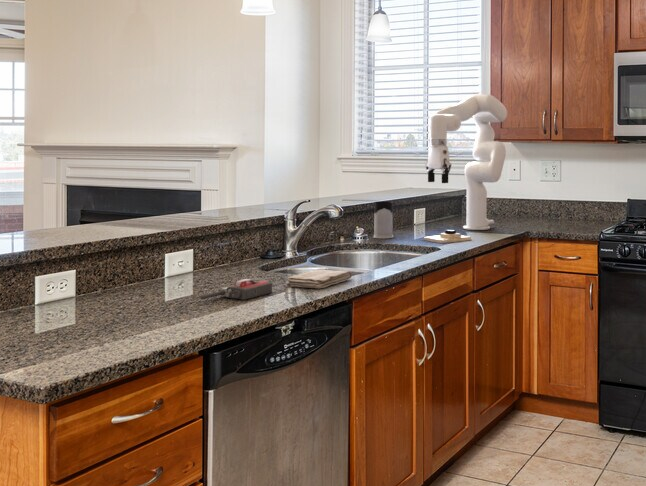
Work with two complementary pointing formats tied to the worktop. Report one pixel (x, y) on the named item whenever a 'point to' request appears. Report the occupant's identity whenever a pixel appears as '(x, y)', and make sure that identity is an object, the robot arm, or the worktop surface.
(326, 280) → the washcloth
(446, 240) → the beige flat slab
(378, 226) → the glass holder
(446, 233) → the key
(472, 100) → the robot arm
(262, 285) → the walkie-talkie
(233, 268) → the worktop surface
